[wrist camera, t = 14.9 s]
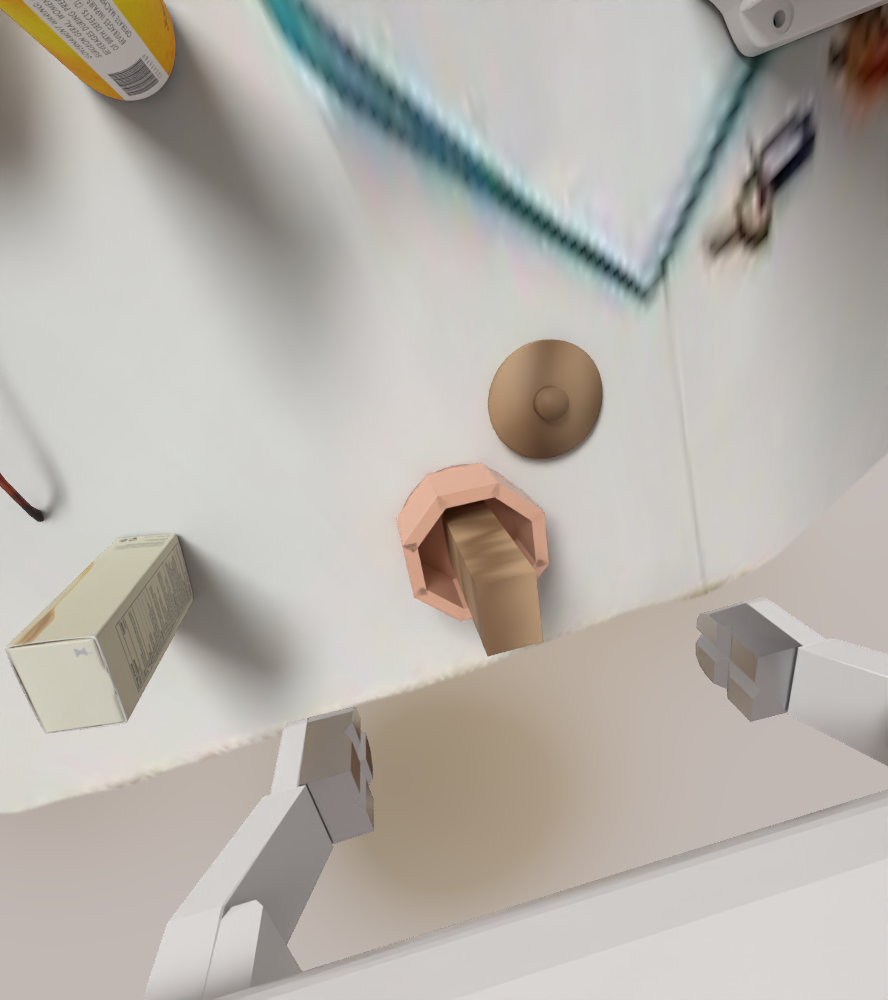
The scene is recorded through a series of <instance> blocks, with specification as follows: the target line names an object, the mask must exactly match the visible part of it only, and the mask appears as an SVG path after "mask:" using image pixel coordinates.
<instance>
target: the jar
mask: <svg viewBox="0 0 888 1000" xmlns="http://www.w3.org/2000/svg"><path fill="white" fill-rule="evenodd" d="M480 500H484V501H485V503H486V504H487V505H488V507H489V508H490V509H491V511H492V512H493V514H494V515H495V516H496V518H497V519H498V520H499V522H500V523H501V525H502V526H503V527H504V529H505V530H506V531H507V533H508V534H509V535H510V537H511V538H512V540H513V541H514V542H515V544H516V545H517V546H518V548H519V549H520V550H521V552H522V553H523V555H524V556H525V557H526V559H527V560H528V561H529V563H530V564H531V566H532V567H533V568H534V570H535V571H536V579H538V578H539V576H540V575H541V574H542V572H543V571H544V570H545V569H546V567H547V566H548V565H549V558H548V547H547V536H546V525H545V514H544V512H543V511H542V510H541V509H540V508H539V507H538V506H537V505H536V504H535V503H534V502H533V501H532V500H531V499H530V498H529V497H528V496H527V495H526V494H525V493H524V492H523V491H522V490H521V489H519V488H518V487H516V486H515V485H513V484H512V483H510V482H509V481H508V480H507V479H505V478H504V477H503V476H502V475H500V474H499V473H497V472H495V471H493V470H491V469H489V468H488V467H486V466H485V465H483V464H482V463H477V464H472V465H457V466H451V467H448V468H444V469H442V470H440V471H437V472H435V473H431V474H427V475H426V477H425V478H424V480H423V481H422V482H421V483H420V484H419V485H418V486H417V487H416V488H415V489H414V490H413V492H412V493H411V494H410V496H409V497H408V499H407V501H406V503H405V505H404V507H403V510H402V511H401V513H400V514H399V515H398V517H397V518H396V519H397V524H398V529H399V533H400V538H401V543H402V547H403V551H404V555H405V559H406V564H407V568H408V572H409V577H410V582H411V586H412V591H413V595H414V598H416V599H418V600H420V601H422V602H424V603H426V604H428V605H430V606H432V607H434V608H436V609H438V610H440V611H442V612H444V613H446V614H448V615H450V616H452V617H454V618H456V619H458V620H460V621H463V620H467V619H471V618H472V616H471V613H470V611H469V608H468V606H467V603H466V601H465V598H464V596H463V593H462V591H461V588H460V586H459V583H458V581H457V578H456V576H455V573H454V571H453V568H452V566H451V563H450V560H449V555H448V549H447V544H446V539H445V533H444V528H443V523H442V518H441V514H442V513H443V512H444V510H445V509H446V508H449V507H454V506H458V505H463V504H467V503H471V502H476V501H480Z"/></svg>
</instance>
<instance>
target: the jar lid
mask: <svg viewBox="0 0 888 1000" xmlns="http://www.w3.org/2000/svg"><path fill="white" fill-rule="evenodd" d="M601 404H602V381H601V377H600V374H599V371H598V369H597V367H596V365H595V363H594V361H593V360H592V359H591V358H590V356H589V355H588V354H587V353H586V352H585V351H584V350H582V349H581V348H579V347H578V346H576V345H574V344H572V343H569V342H565V341H560V340H539V341H535V342H532V343H529V344H526V345H524V346H522V347H521V348H519V349H517V350H516V351H515V352H513V353H512V354H511V355H510V356H509V357H508V358H507V359H506V360H505V361H504V362H503V363H502V365H501V366H500V367H499V369H498V371H497V372H496V374H495V376H494V379H493V381H492V384H491V387H490V391H489V398H488V409H489V416H490V420H491V423H492V426H493V428H494V430H495V432H496V434H497V435H498V436H499V438H500V439H501V440H502V441H503V442H504V443H505V444H506V445H507V446H508V447H510V448H511V449H512V450H514V451H515V452H517V453H519V454H521V455H524V456H526V457H531V458H540V459H541V458H550V457H555V456H558V455H561V454H563V453H565V452H567V451H569V450H571V449H572V448H574V447H575V446H576V445H578V444H579V443H580V442H581V441H582V440H583V439H584V438H585V437H586V436H587V435H588V433H589V432H590V431H591V429H592V427H593V426H594V424H595V422H596V420H597V418H598V415H599V412H600V408H601Z"/></svg>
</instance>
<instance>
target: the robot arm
mask: <svg viewBox="0 0 888 1000" xmlns="http://www.w3.org/2000/svg"><path fill="white" fill-rule="evenodd" d="M710 1H711V2H712V3H713V4H714V5H715V6H716V7H717V8H718V9H719V11H720V12H721V13H722V15H723V17H724V19H725V22H726V24H727V27H728V29H729V32H730V34H731V36H732V38H733V40H734V42H735V44H736V46H737V48H738V49H739V51H740V52H741V53H742V54H743V55H745V56H748V57H754V56H757V55H760V54H762V53H765V52H767V51H770V50H772V49H775V48H777V47H780V46H782V45H785V44H787V43H790V42H792V41H795V40H797V39H799V38H802V37H804V36H807V35H809V34H812V33H814V32H817V31H819V30H822V29H824V28H827V27H829V26H832V25H834V24H837V23H839V22H842V21H844V20H847V19H849V18H852V17H854V16H857V15H859V14H862V13H864V12H867V11H869V10H872V9H874V8H877V7H879V6H882V5H884V4H887V3H888V0H710ZM773 18H774V19H775V22H776V27H775V26H774V24H773ZM697 629H698V630H699V631H700V632H701V633H702V635H701V636H700V638H699V639H698V640H697V642H696V656H697V659H698V662H699V664H700V666H701V668H702V670H703V671H704V673H705V674H706V676H707V677H708V678H709V679H710V680H711V681H712V682H713V683H714V684H717V685H719V686H721V687H724V688H727V696H728V699H729V700H730V701H731V702H732V703H733V704H734V705H735V706H736V707H737V708H738V709H739V710H740V711H741V712H742V713H743V715H744V716H745V717H746V718H747V719H748V720H749V721H750V722H751V721H755V720H759V719H763V718H766V717H771V716H775V715H778V714H782V713H786V712H788V713H787V714H788V715H790V716H792V717H793V718H795V719H797V720H799V721H801V722H803V723H805V724H807V725H809V726H811V727H813V728H815V729H817V730H819V731H821V732H823V733H825V734H827V735H829V736H830V737H832V738H835V739H836V740H838V741H840V742H842V743H844V744H846V745H848V746H850V747H852V748H854V749H856V750H858V751H859V752H861V753H863V754H865V755H867V756H869V757H871V758H873V759H875V760H877V761H879V762H881V763H883V764H885V765H887V766H888V654H885V653H882V652H879V651H875V650H872V649H868V648H865V647H862V646H858V645H854V644H851V643H848V642H845V641H841V640H837V639H834V638H831V639H827V640H826V639H825V638H823V637H822V636H820V635H819V634H817V633H816V632H815V631H813V630H812V629H810V628H809V627H807V626H806V625H805V624H803V623H802V622H800V621H799V620H797V619H796V618H794V617H793V616H792V615H790V614H789V613H787V612H786V611H784V610H783V609H782V608H780V607H779V606H777V605H776V604H774V603H773V602H771V601H770V600H769V599H766V598H763V597H759V598H755V599H752V600H748V601H744V602H741V603H739V604H734V605H730V606H726V607H723V608H719V609H716V610H712V611H708V612H705V613H701V614H700V615H699V617H698V618H697ZM372 780H373V765H372V758H371V751H370V746H369V742H368V739H367V736H366V733H365V732H363V731H361V729H360V716H359V713H358V711H357V708H356V707H351V708H346V709H342V710H338V711H334V712H330V713H326V714H321V715H317V716H313V717H310V718H307V719H303V720H299V721H294V722H290V723H287V724H286V726H285V728H284V729H283V733H282V738H281V743H280V748H279V753H278V759H277V764H276V769H275V774H274V779H273V784H272V789H271V794H270V795H268V796H264V797H263V798H262V799H261V800H260V802H259V803H258V804H257V806H256V807H255V808H254V810H253V811H252V812H251V814H250V815H249V816H248V818H247V819H246V820H245V822H244V823H243V824H242V825H241V827H240V828H239V829H238V831H237V832H236V834H235V835H234V836H233V837H232V839H231V840H230V841H229V843H228V844H227V845H226V847H225V848H224V849H223V851H222V852H221V853H220V854H219V856H218V857H217V858H216V860H215V861H214V862H213V864H212V865H211V866H210V868H209V869H208V870H207V872H206V873H205V874H204V876H203V877H202V878H201V880H200V881H199V882H198V884H197V885H196V886H195V887H194V889H193V890H192V891H191V893H190V894H189V895H188V897H187V898H186V899H185V901H184V902H183V903H182V905H181V906H180V907H179V909H178V910H177V911H176V912H175V914H174V915H173V917H172V918H171V919H170V920H169V922H168V923H167V926H166V929H165V932H164V935H163V938H162V942H161V945H160V948H159V951H158V954H157V957H156V960H155V963H154V966H153V969H152V973H151V975H150V978H149V982H148V985H147V988H146V991H145V994H144V997H143V1000H888V790H885V791H881V792H878V793H875V794H872V795H868V796H865V797H862V798H859V799H855V800H853V801H849V802H846V803H843V804H839V805H836V806H833V807H830V808H827V809H823V810H820V811H817V812H814V813H810V814H807V815H804V816H801V817H798V818H794V819H791V820H788V821H785V822H782V823H779V824H775V825H772V826H769V827H765V828H762V829H759V830H756V831H753V832H749V833H746V834H743V835H740V836H737V837H733V838H730V839H727V840H724V841H720V842H717V843H714V844H711V845H708V846H704V847H702V848H698V849H695V850H692V851H688V852H685V853H682V854H679V855H675V856H673V857H669V858H666V859H663V860H659V861H656V862H653V863H650V864H647V865H643V866H641V867H637V868H634V869H631V870H627V871H625V872H621V873H618V874H615V875H611V876H609V877H605V878H602V879H599V880H595V881H592V882H589V883H586V884H583V885H580V886H577V887H573V888H570V889H567V890H564V891H560V892H557V893H554V894H551V895H548V896H544V897H541V898H538V899H535V900H531V901H528V902H525V903H522V904H519V905H515V906H512V907H509V908H506V909H503V910H499V911H496V912H493V913H490V914H487V915H483V916H480V917H477V918H473V919H470V920H467V921H464V922H461V923H457V924H454V925H451V926H448V927H445V928H441V929H438V930H435V931H432V932H429V933H425V934H422V935H419V936H416V937H412V938H409V939H406V940H403V941H400V942H396V943H393V944H390V945H387V946H383V947H380V948H377V949H374V950H371V951H367V952H364V953H361V954H358V955H354V956H351V957H348V958H345V959H342V960H338V961H336V962H332V963H329V964H325V965H322V966H319V967H316V968H313V969H309V970H306V971H303V972H302V970H301V969H300V967H299V965H298V964H297V962H296V961H295V959H294V957H293V956H292V954H291V952H290V950H289V949H288V947H287V943H288V941H289V939H290V937H291V935H292V933H293V931H294V929H295V927H296V924H297V922H298V920H299V918H300V916H301V914H302V912H303V910H304V908H305V905H306V903H307V901H308V899H309V897H310V895H311V893H312V891H313V889H314V887H315V885H316V882H317V880H318V878H319V876H320V874H321V872H322V870H323V868H324V866H325V863H326V861H327V860H328V857H329V855H330V853H331V851H332V849H333V845H332V844H335V843H338V842H341V841H344V840H347V839H350V838H354V837H357V836H360V835H363V834H366V833H369V832H372V831H374V803H373V802H374V801H373V796H372V793H371V791H370V788H369V785H370V783H371V781H372Z"/></svg>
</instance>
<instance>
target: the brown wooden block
mask: <svg viewBox="0 0 888 1000" xmlns="http://www.w3.org/2000/svg"><path fill="white" fill-rule="evenodd" d="M441 518H442V523H443V528H444V533H445V539H446V544H447V549H448V555H449V560H450V563H451V566H452V568H453V571H454V573H455V576H456V578H457V581H458V583H459V586H460V588H461V591H462V593H463V596H464V598H465V601H466V603H467V606H468V608H469V611H470V613H471V616H472V618H473V621H474V623H475V626H476V628H477V631H478V633H479V636H480V638H481V641H482V643H483V646H484V648H485V651H486V653H487V656H491V655H495V654H498V653H502V652H506V651H510V650H513V649H517V648H521V647H525V646H528V645H532V644H536V643H540V642H543V635H542V625H541V616H540V607H539V597H538V588H537V579H536V571H535V570H534V568H533V567H532V566H531V564H530V563H529V561H528V560H527V559H526V557H525V556H524V555H523V553H522V552H521V550H520V549H519V548H518V546H517V545H516V544H515V542H514V541H513V540H512V538H511V537H510V535H509V534H508V533H507V531H506V530H505V529H504V527H503V526H502V525H501V523H500V522H499V520H498V519H497V518H496V516H495V515H494V514H493V512H492V511H491V509H490V508H489V507H488V505H487V504H486V503H485V501H484V500H480V501H476V502H471V503H467V504H463V505H458V506H454V507H449V508H446V509H445V510H444V512H443V513H442V514H441Z"/></svg>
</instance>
